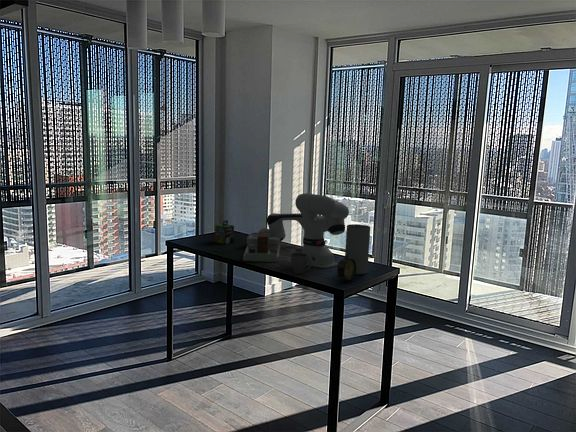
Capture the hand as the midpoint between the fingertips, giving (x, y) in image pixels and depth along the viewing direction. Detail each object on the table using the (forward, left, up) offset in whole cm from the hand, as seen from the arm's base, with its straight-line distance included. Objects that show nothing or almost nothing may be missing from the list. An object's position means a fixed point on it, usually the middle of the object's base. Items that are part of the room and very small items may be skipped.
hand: (262, 243), depth 294 cm
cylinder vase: (-60, -14, -6) cm, 62 cm away
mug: (-43, +11, -6) cm, 45 cm away
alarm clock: (-68, +4, -6) cm, 68 cm away
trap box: (0, 0, -6) cm, 6 cm away
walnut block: (-5, +4, -5) cm, 9 cm away
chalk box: (+38, 0, -7) cm, 38 cm away
